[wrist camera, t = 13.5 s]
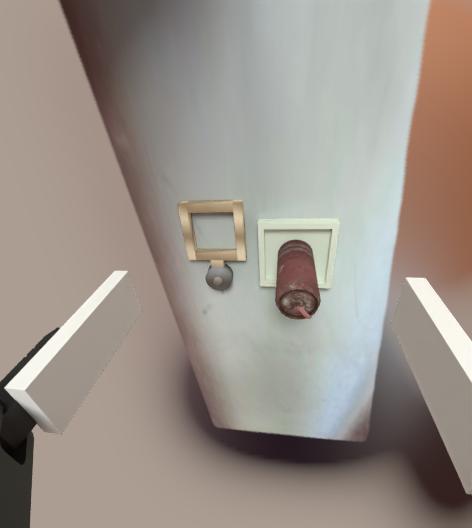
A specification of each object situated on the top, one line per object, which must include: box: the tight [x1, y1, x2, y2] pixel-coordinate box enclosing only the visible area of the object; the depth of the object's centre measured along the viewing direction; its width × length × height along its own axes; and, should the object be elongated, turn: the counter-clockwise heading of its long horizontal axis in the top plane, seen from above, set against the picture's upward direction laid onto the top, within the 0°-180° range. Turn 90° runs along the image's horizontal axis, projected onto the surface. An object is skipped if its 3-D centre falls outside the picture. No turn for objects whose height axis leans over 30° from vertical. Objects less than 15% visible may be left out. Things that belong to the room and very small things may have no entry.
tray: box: [258, 218, 340, 288], centre depth 48 cm, size 13×13×2 cm
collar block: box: [177, 200, 247, 290], centre depth 49 cm, size 18×11×3 cm, turn 5°
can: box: [275, 240, 321, 319], centre depth 42 cm, size 6×6×14 cm
